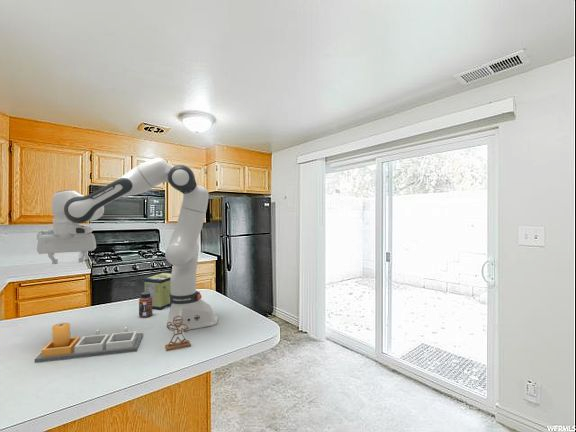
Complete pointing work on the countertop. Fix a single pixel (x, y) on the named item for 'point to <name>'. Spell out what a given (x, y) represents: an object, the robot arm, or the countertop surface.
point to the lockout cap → (61, 335)
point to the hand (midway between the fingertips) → (68, 263)
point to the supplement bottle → (145, 305)
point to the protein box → (159, 290)
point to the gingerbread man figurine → (179, 344)
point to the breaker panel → (92, 346)
